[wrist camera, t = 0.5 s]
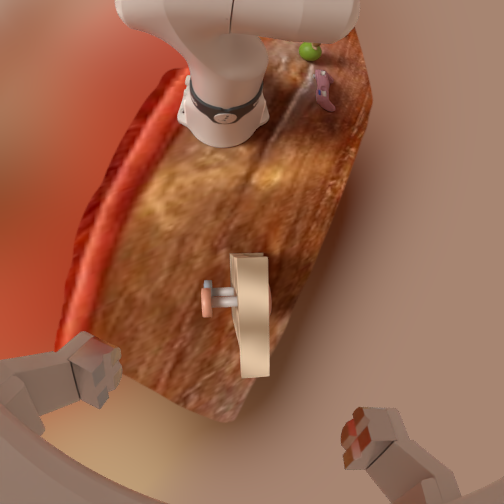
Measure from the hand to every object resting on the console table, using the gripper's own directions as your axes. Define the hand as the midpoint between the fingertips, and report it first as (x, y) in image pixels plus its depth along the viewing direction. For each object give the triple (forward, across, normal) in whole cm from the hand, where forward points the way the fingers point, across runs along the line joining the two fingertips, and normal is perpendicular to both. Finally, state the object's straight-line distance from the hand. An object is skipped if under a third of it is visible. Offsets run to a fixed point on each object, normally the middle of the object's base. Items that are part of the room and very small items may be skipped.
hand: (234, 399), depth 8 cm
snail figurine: (+58, +1, -40) cm, 71 cm away
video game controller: (+56, -4, -30) cm, 64 cm away
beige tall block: (+42, +2, +14) cm, 45 cm away
